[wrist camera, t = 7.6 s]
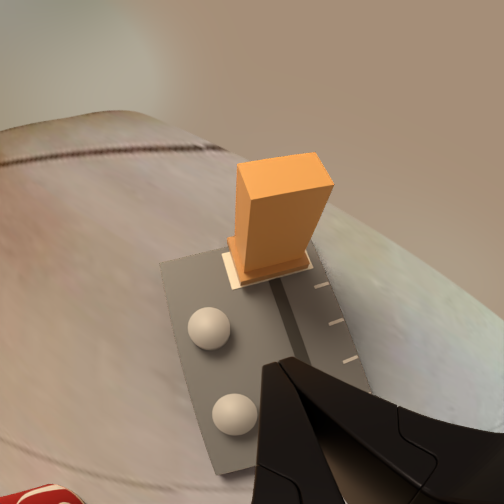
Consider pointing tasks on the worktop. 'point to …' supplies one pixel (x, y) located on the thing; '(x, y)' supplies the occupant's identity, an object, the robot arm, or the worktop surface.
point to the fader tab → (276, 214)
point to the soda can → (43, 496)
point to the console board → (249, 342)
